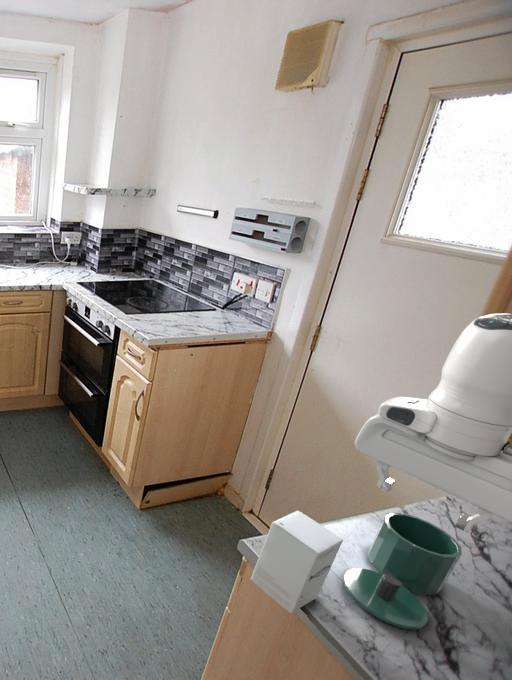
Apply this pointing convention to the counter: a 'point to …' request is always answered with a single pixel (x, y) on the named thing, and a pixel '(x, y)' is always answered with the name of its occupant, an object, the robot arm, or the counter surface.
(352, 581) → the lid
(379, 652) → the counter surface
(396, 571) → the tin
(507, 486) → the robot arm
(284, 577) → the white packaging box
